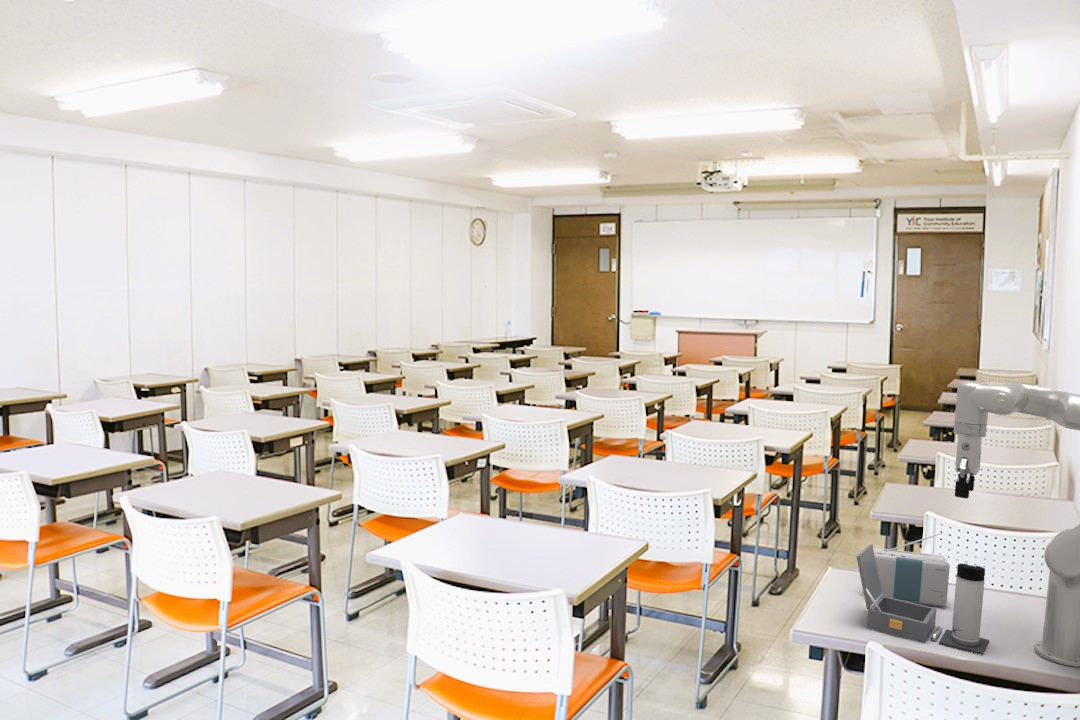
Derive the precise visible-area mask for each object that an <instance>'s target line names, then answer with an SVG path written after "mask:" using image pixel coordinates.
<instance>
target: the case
mask: <svg viewBox="0 0 1080 720" xmlns="http://www.w3.org/2000/svg"><path fill="white" fill-rule="evenodd" d="M873 548H874V545H873V544H872V543H871V544H868V545H867V546H865V548H864V549H862V550H861V552H859V553H858V554H857V555H856V556H855V557H856V562H857V567H858V571H859V572H858V573H859V576H860V580H861V581H860V582H861V586H862V592H863V596H864V601H865V607H866V610H867V625H866V629H868V628H869V629H868V630H872V629H873V631H877V632H880V633H885V634H888V635H892V636H896V637H901V638H903V639H907V640H911V641H916V642H920V643H924V644H925V643H926V642H927V640H928V639H929V637H930V635H931V634H932V632H933V630H934V629H935V628H936V621H937V607H932V606H930V605H928V606H927V605H925V604H919V603H912V602H907V601H903V600H899V599H895V598H890V597H886V596H883V593H882V589H881V584H880V579H879V574H878V569H877V564H876V559H875V554H874V550H873Z"/></svg>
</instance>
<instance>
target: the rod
mask: <svg viewBox="0 0 1080 720" xmlns="http://www.w3.org/2000/svg"><path fill="white" fill-rule="evenodd" d="M942 631H943V628H942V626H937V628H936V629H935V631H934V632H933V634H932V635H931V637H930V641H931V642H936V641H937V639H938V637H939V635H940V634H941V632H942Z"/></svg>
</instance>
